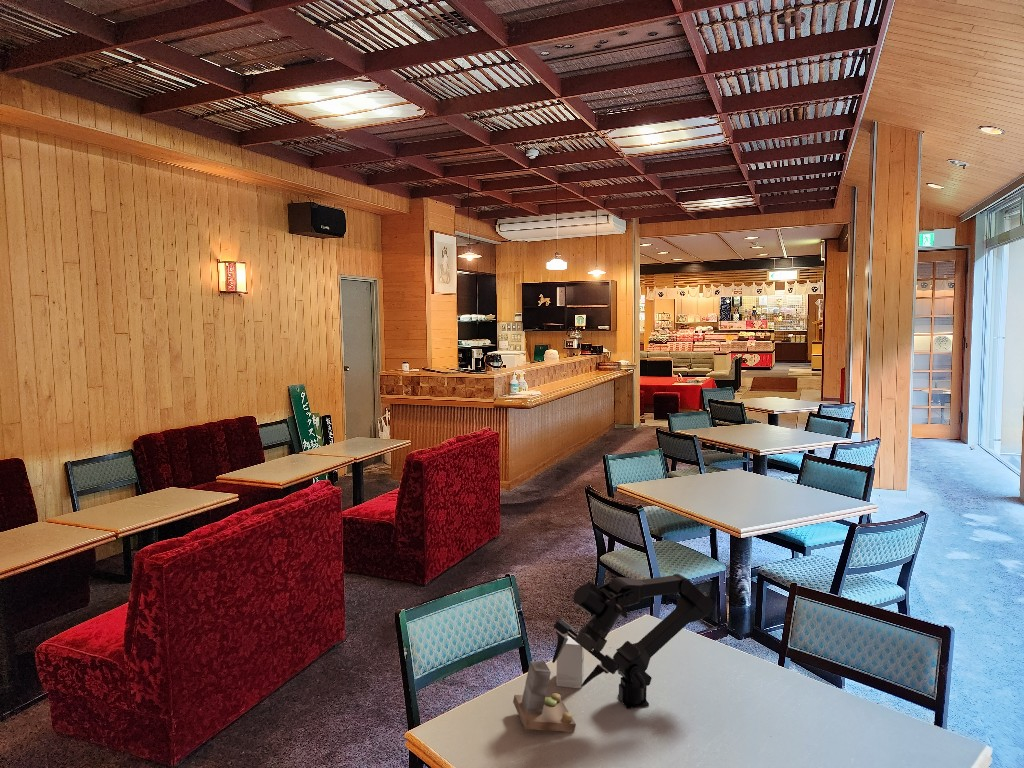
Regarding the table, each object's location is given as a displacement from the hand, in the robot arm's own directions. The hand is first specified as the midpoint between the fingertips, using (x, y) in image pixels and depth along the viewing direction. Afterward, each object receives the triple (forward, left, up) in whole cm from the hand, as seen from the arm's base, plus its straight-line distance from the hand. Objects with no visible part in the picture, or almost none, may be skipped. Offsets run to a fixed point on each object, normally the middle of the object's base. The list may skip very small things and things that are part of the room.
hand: (567, 674), depth 170 cm
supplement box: (-7, -17, -12) cm, 22 cm away
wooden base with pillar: (+7, 0, -10) cm, 12 cm away
